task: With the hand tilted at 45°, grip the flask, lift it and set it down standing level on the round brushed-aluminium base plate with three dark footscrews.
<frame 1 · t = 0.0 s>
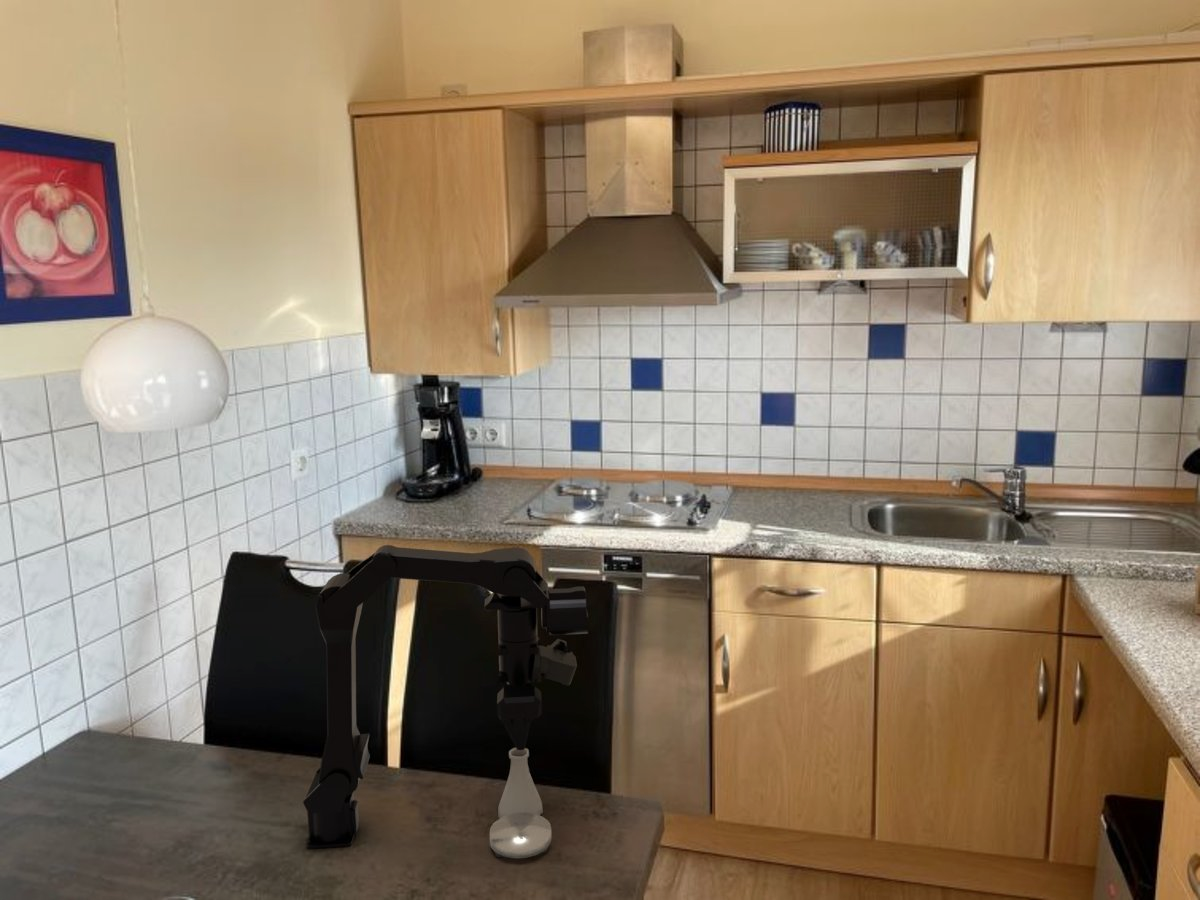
hand: (520, 734, 137), 15 cm above the table, tool pointing down, fingers open, 9 cm apart
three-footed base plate: (520, 845, 134), on the table
flask: (520, 812, 143), on the table
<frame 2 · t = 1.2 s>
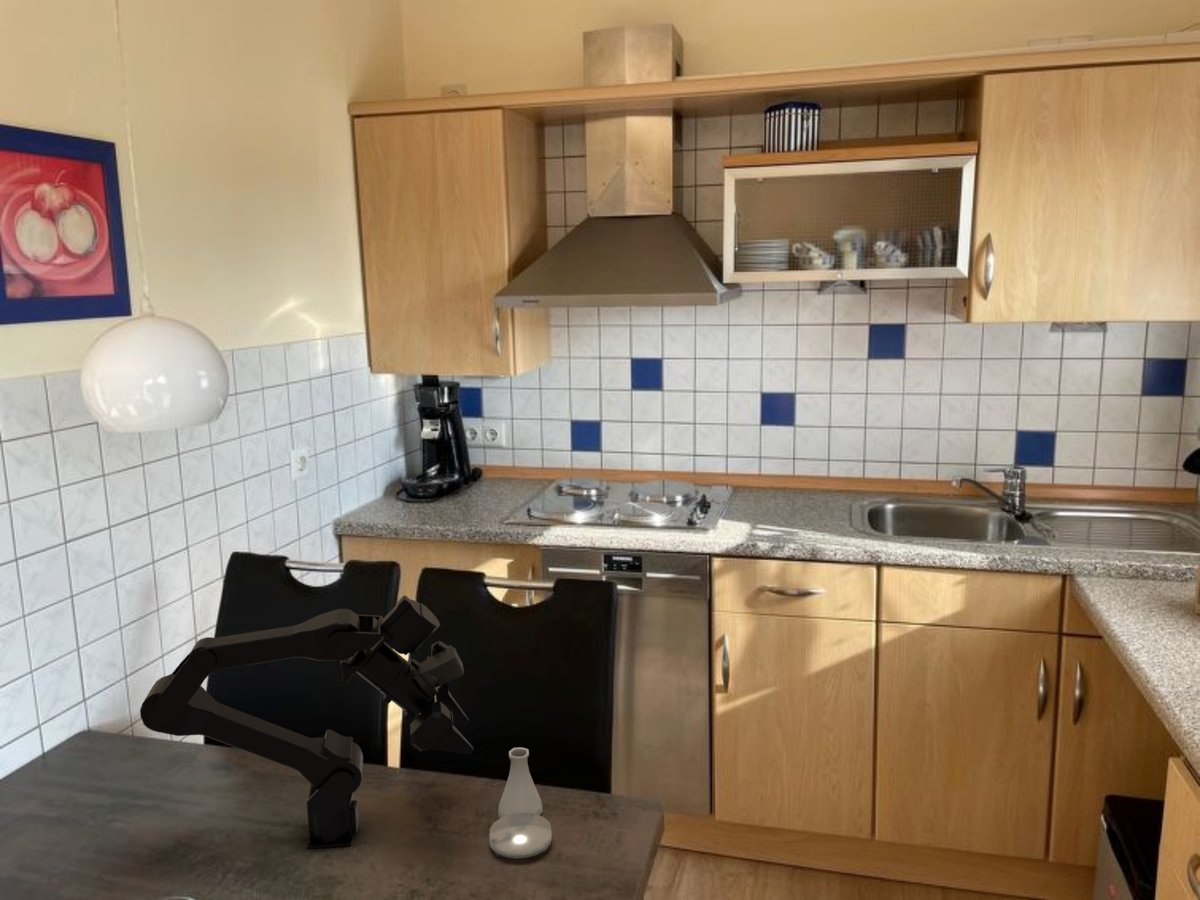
hand: (469, 736, 139), 13 cm above the table, tool tilted 45°, fingers open, 9 cm apart
nothing on the table moved.
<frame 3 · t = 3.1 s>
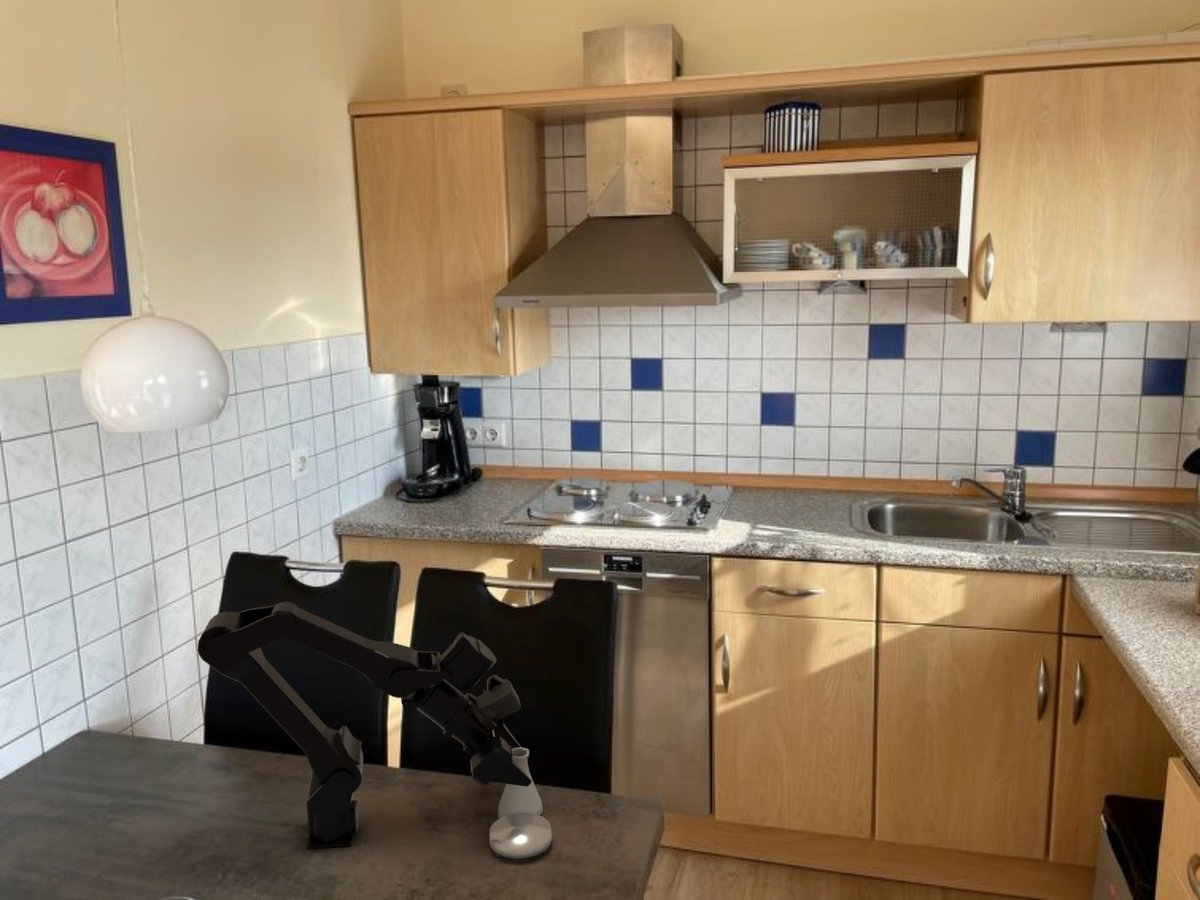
hand: (525, 768, 142), 7 cm above the table, tool tilted 45°, fingers open, 9 cm apart
nothing on the table moved.
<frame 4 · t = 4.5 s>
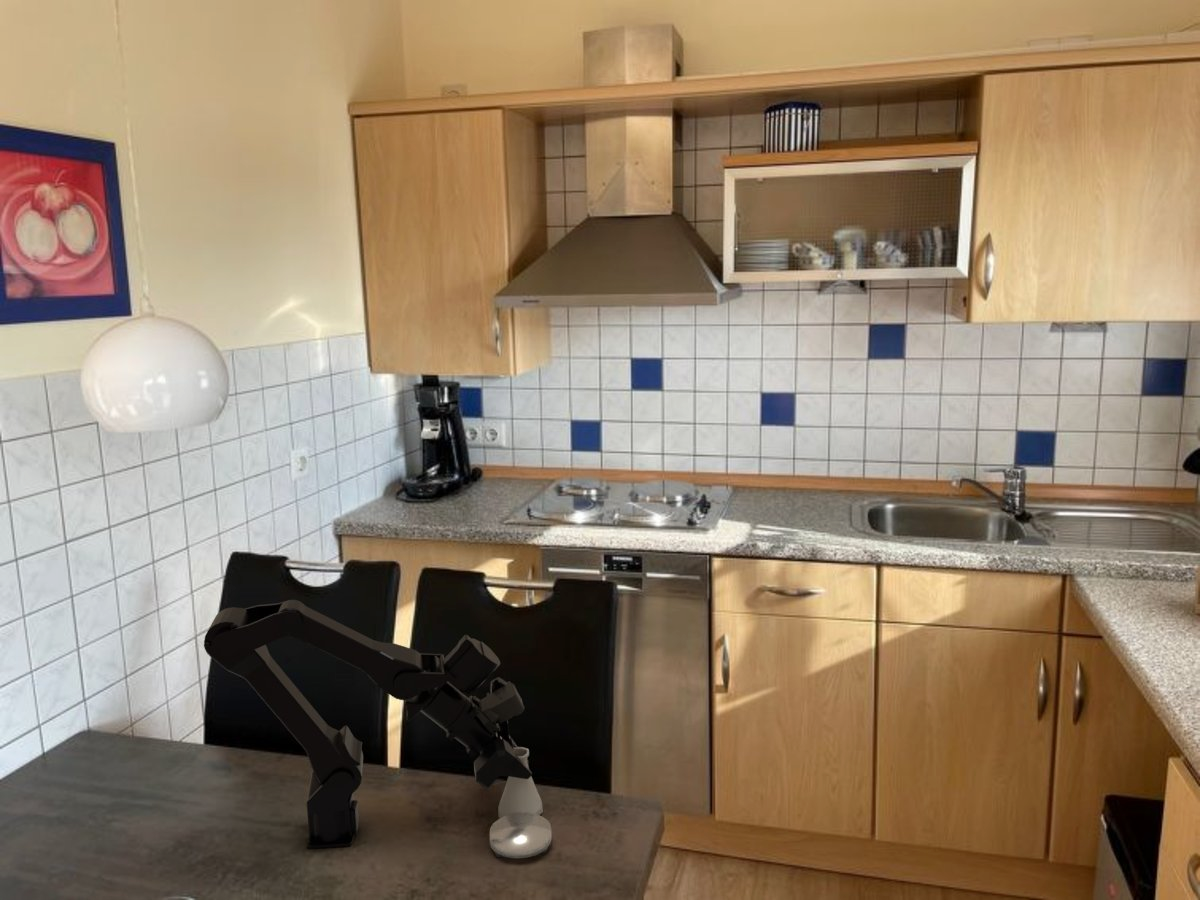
hand: (528, 770, 142), 7 cm above the table, tool tilted 45°, fingers closed on flask, 3 cm apart
flask: (520, 812, 143), on the table, touching gripper
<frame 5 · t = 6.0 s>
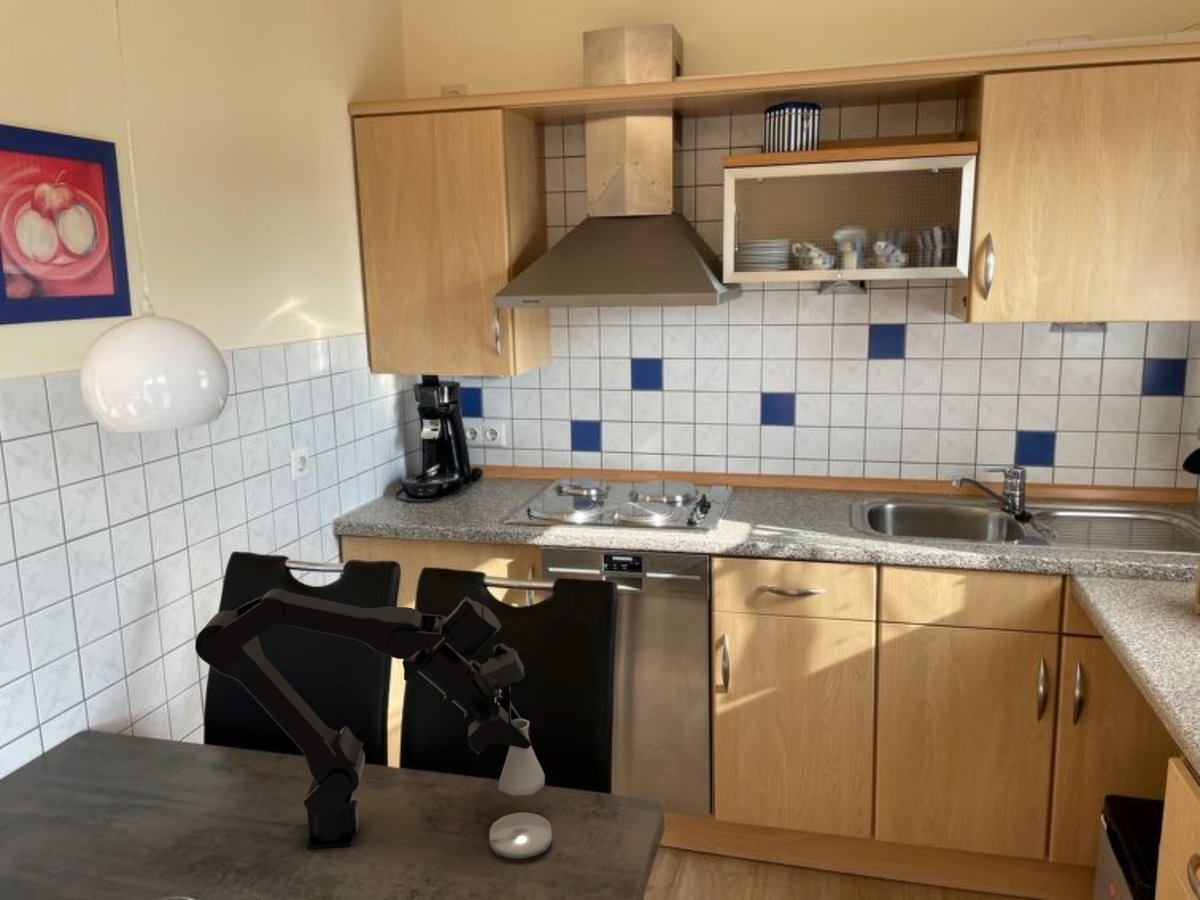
hand: (529, 741, 138), 13 cm above the table, tool tilted 45°, fingers closed on flask, 3 cm apart
flask: (521, 785, 139), point 6 cm above the table, touching gripper
when the fingers open (10 cm above the table, at t = 7.7 s): flask stays where it is, resting on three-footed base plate.
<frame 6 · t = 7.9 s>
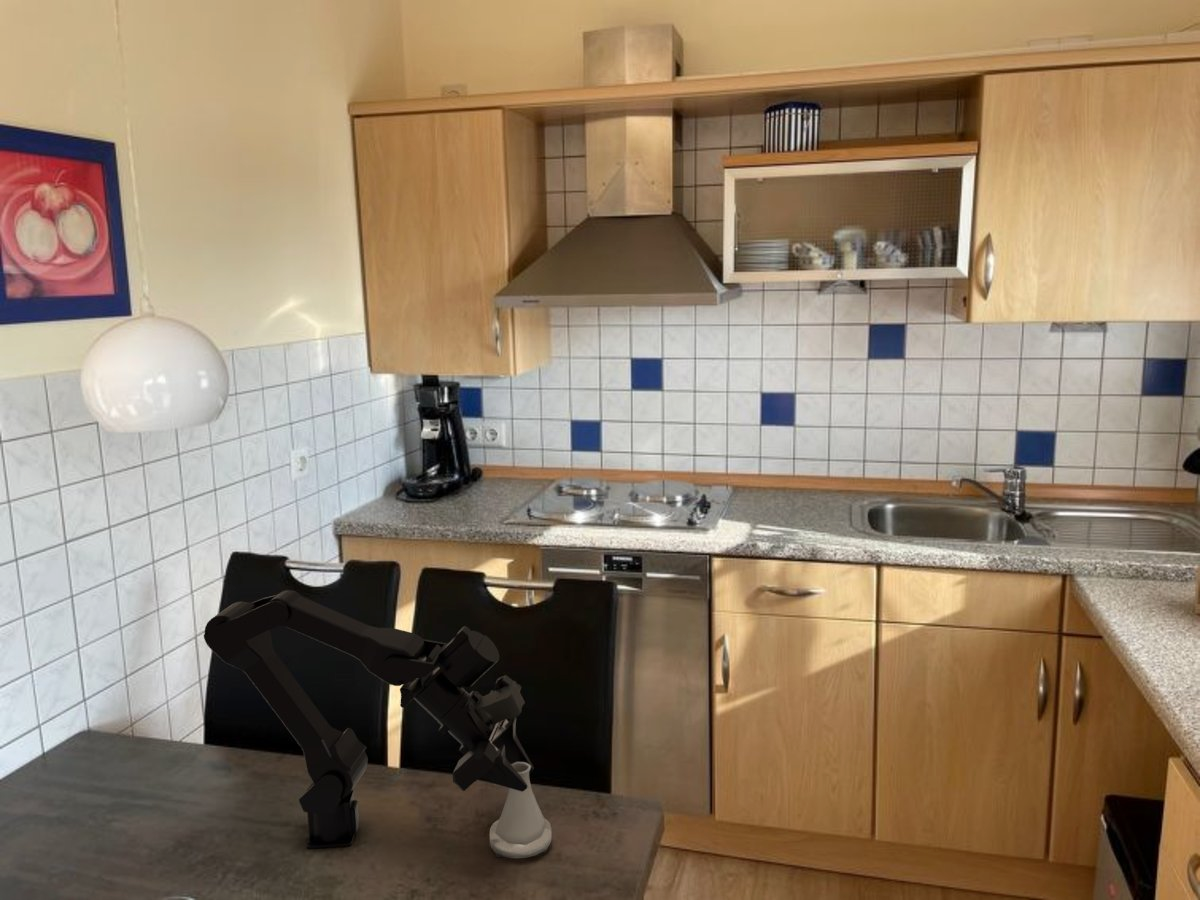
hand: (528, 779, 132), 11 cm above the table, tool tilted 45°, fingers open, 5 cm apart
flask: (521, 831, 134), point 2 cm above the table, touching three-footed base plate
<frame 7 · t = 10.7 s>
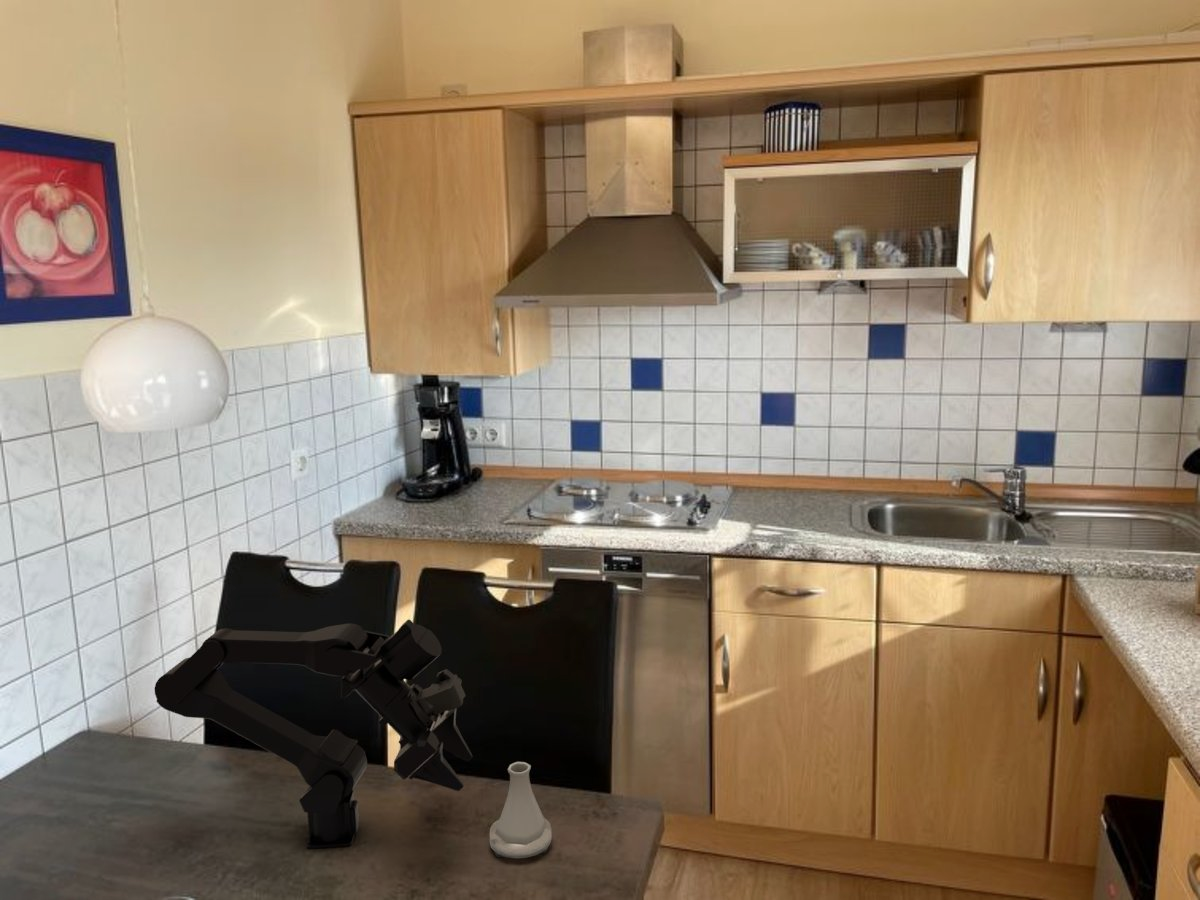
hand: (466, 773, 134), 11 cm above the table, tool tilted 40°, fingers open, 9 cm apart
nothing on the table moved.
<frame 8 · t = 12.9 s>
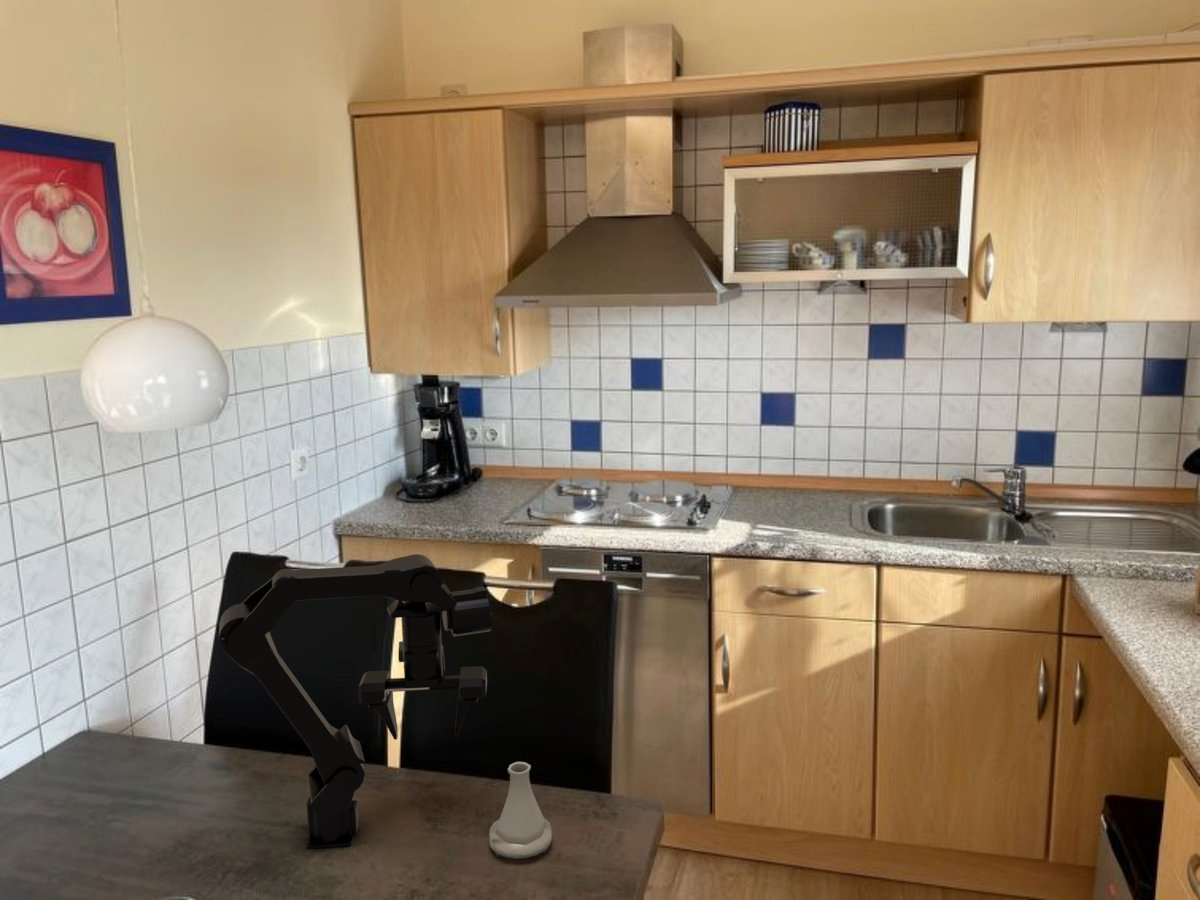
hand: (426, 736, 140), 13 cm above the table, tool pointing down, fingers open, 9 cm apart
nothing on the table moved.
at the end: flask 0.1 cm off-centre on the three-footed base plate, point 2.3 cm above the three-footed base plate's base; flask tilted 0°; the gripper is holding nothing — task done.
